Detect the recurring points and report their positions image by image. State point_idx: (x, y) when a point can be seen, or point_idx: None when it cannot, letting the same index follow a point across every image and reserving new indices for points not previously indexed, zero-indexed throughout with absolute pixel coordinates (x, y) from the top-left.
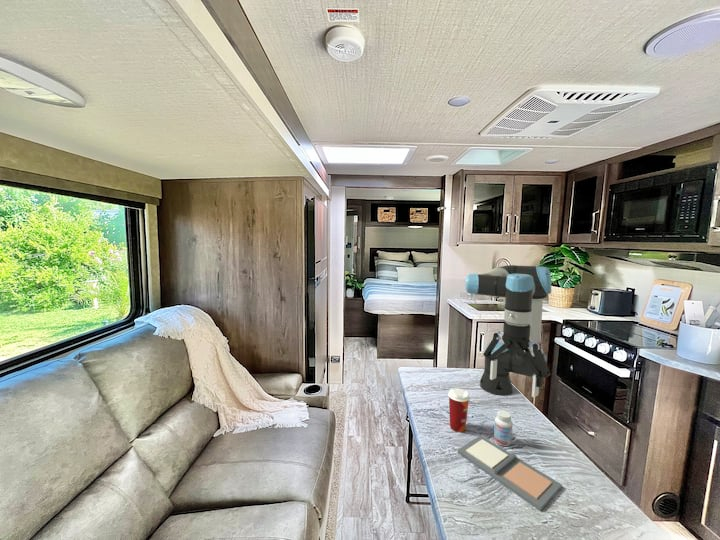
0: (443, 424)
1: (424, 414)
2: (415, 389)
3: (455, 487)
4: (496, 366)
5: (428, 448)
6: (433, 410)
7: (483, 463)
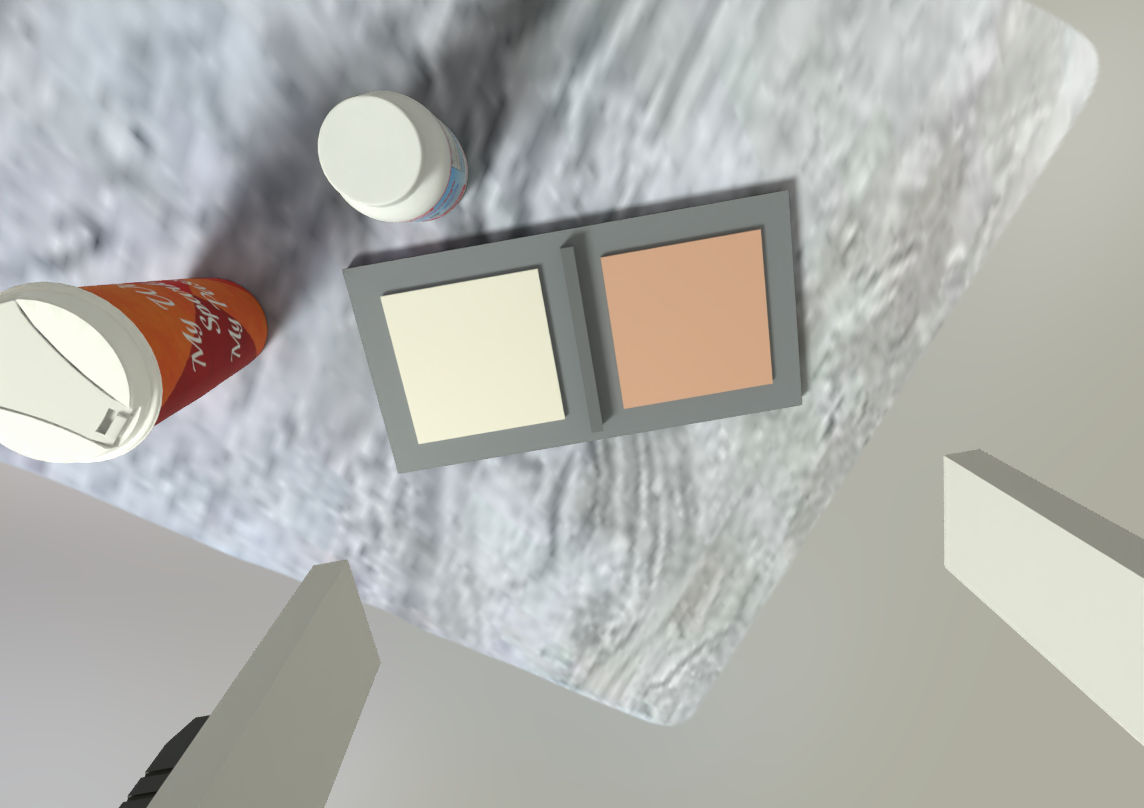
0: None
1: None
2: None
3: (560, 603)
4: (265, 718)
5: None
6: None
7: (522, 426)
